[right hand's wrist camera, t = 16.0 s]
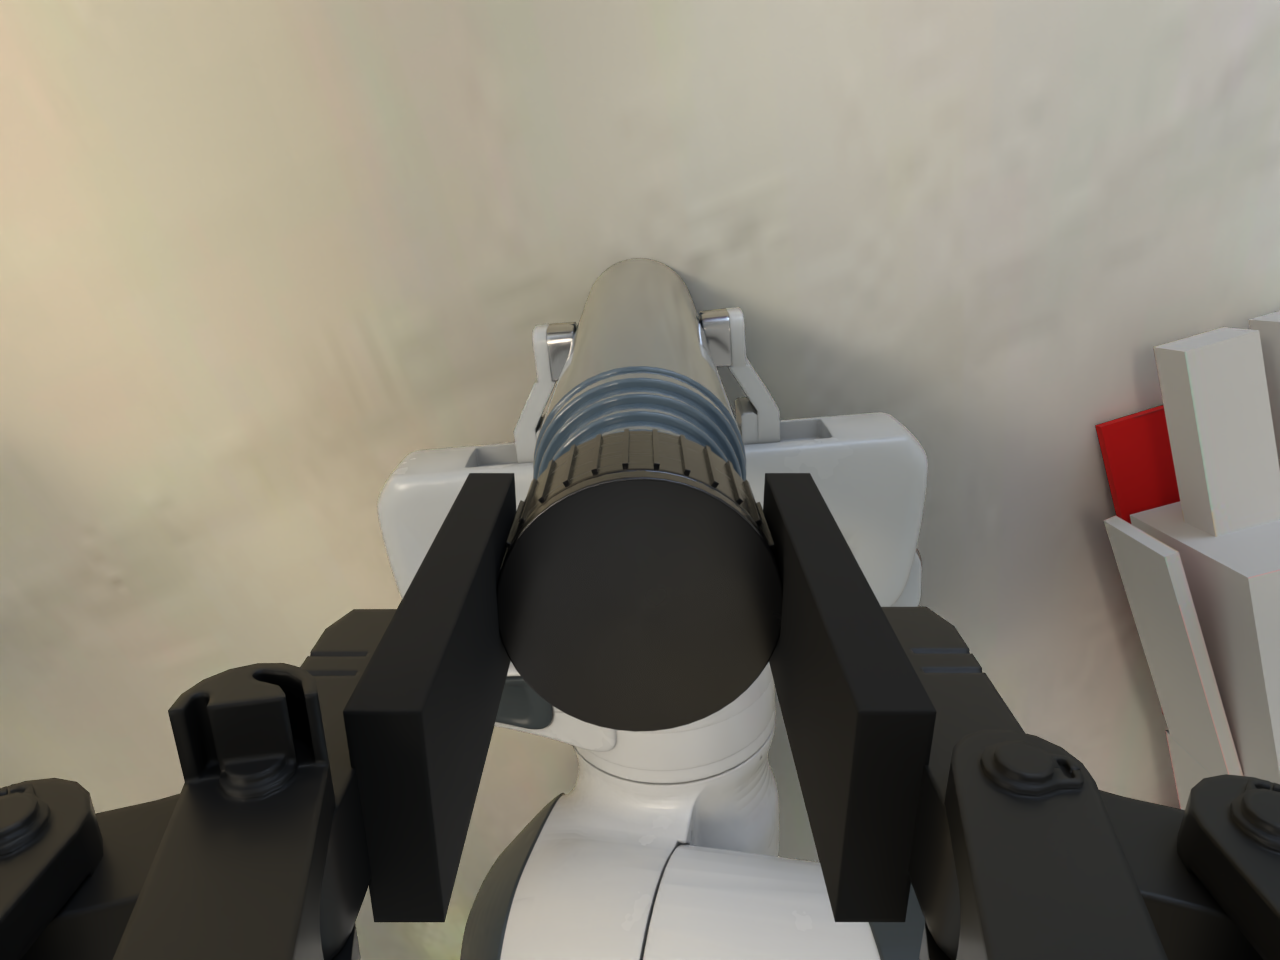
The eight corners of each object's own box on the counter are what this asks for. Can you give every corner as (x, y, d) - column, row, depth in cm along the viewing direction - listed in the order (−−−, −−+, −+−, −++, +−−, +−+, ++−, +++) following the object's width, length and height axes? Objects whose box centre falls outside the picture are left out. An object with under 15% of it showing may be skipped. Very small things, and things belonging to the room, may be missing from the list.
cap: (571, 383, 14) (558, 424, 11) (813, 488, 14) (843, 546, 12) (475, 602, 15) (449, 676, 13) (699, 689, 16) (708, 772, 14)
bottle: (612, 239, 35) (558, 408, 12) (711, 285, 36) (845, 531, 12) (569, 339, 37) (447, 663, 13) (665, 381, 37) (708, 761, 14)
